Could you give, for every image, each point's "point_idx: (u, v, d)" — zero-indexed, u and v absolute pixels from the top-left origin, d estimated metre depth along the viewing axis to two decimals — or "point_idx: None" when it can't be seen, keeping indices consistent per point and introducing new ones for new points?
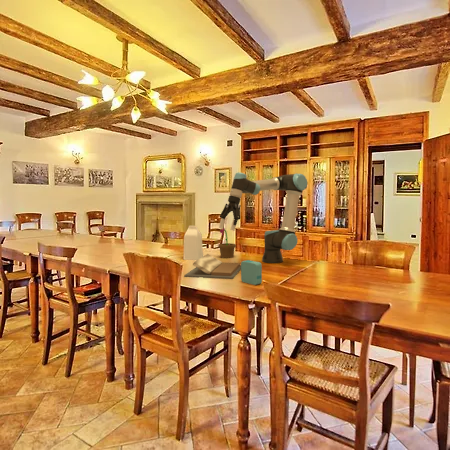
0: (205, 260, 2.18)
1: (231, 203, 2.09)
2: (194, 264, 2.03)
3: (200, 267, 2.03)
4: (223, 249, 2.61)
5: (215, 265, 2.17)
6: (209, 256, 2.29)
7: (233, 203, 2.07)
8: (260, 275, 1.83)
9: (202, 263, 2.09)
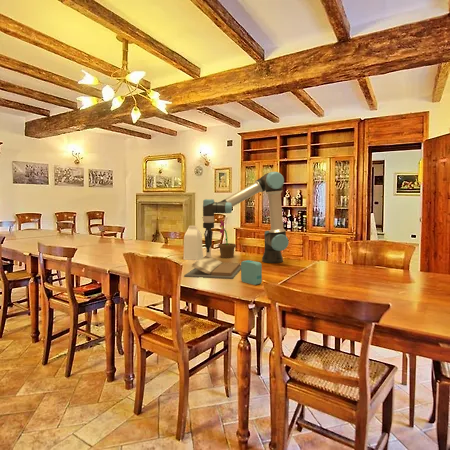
0: (205, 261, 2.18)
1: None
2: (194, 265, 2.03)
3: (200, 268, 2.03)
4: (223, 249, 2.61)
5: (215, 265, 2.17)
6: (209, 257, 2.29)
7: None
8: (260, 275, 1.83)
9: (202, 264, 2.09)
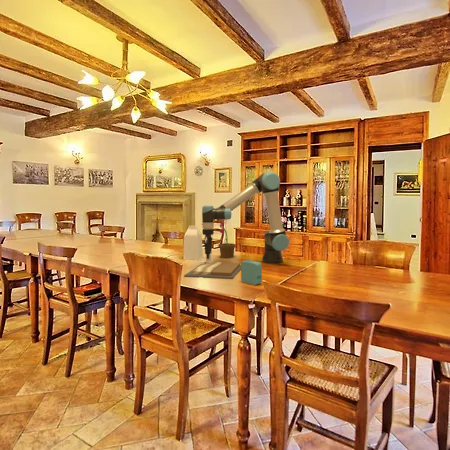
0: (204, 266, 2.18)
1: None
2: (193, 273, 2.04)
3: (199, 272, 2.03)
4: (223, 249, 2.61)
5: (215, 266, 2.17)
6: None
7: None
8: (260, 275, 1.83)
9: (201, 269, 2.10)
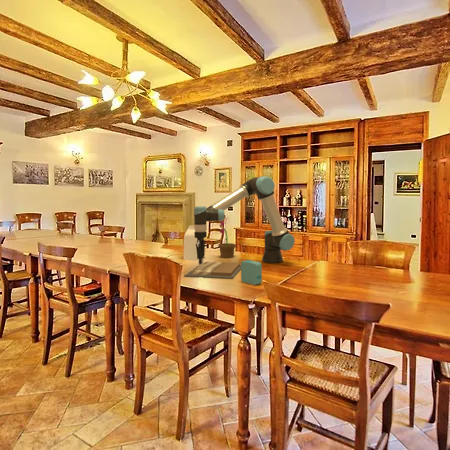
0: (204, 266, 2.18)
1: None
2: (193, 273, 2.04)
3: (199, 272, 2.03)
4: (223, 249, 2.61)
5: (215, 266, 2.17)
6: (208, 262, 2.29)
7: None
8: (260, 275, 1.83)
9: (201, 269, 2.10)
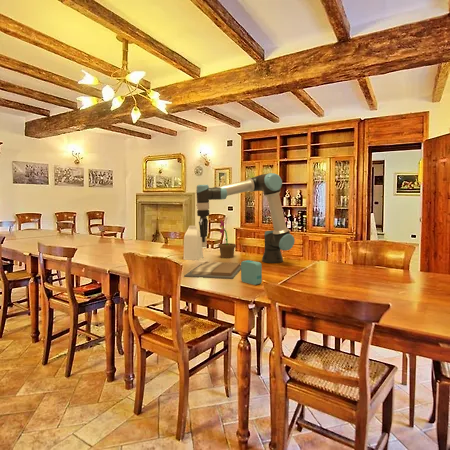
0: (204, 266, 2.18)
1: None
2: (193, 273, 2.04)
3: (199, 272, 2.03)
4: (223, 249, 2.61)
5: (215, 266, 2.17)
6: (208, 262, 2.29)
7: None
8: (260, 275, 1.83)
9: (201, 269, 2.10)
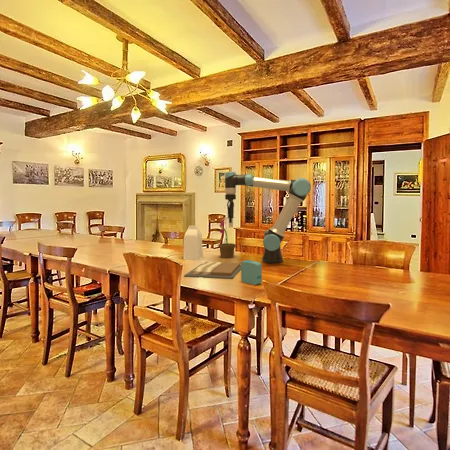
0: (204, 266, 2.18)
1: None
2: (193, 273, 2.04)
3: (199, 272, 2.03)
4: (223, 249, 2.61)
5: (215, 266, 2.17)
6: (208, 262, 2.29)
7: None
8: (260, 275, 1.83)
9: (201, 269, 2.10)
